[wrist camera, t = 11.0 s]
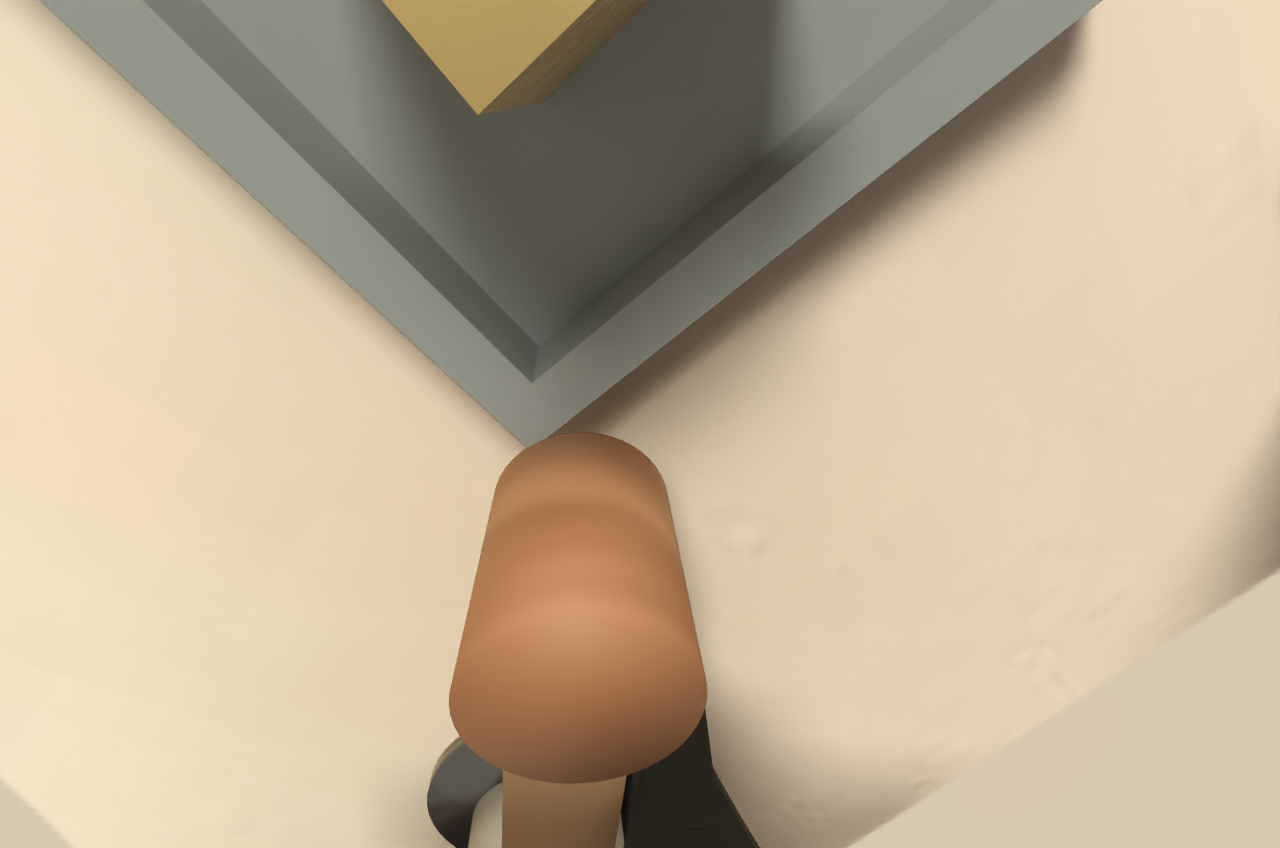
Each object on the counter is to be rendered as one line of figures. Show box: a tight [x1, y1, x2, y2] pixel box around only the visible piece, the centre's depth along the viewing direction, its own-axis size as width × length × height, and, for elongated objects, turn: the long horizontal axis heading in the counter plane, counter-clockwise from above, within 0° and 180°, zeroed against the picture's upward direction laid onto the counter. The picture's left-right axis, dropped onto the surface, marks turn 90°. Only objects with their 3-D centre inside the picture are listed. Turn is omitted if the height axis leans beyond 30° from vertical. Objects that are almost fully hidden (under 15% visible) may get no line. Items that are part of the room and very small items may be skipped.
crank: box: [449, 432, 707, 848], centre depth 11 cm, size 14×4×5 cm, turn 173°
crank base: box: [427, 737, 503, 848], centre depth 16 cm, size 6×6×1 cm
